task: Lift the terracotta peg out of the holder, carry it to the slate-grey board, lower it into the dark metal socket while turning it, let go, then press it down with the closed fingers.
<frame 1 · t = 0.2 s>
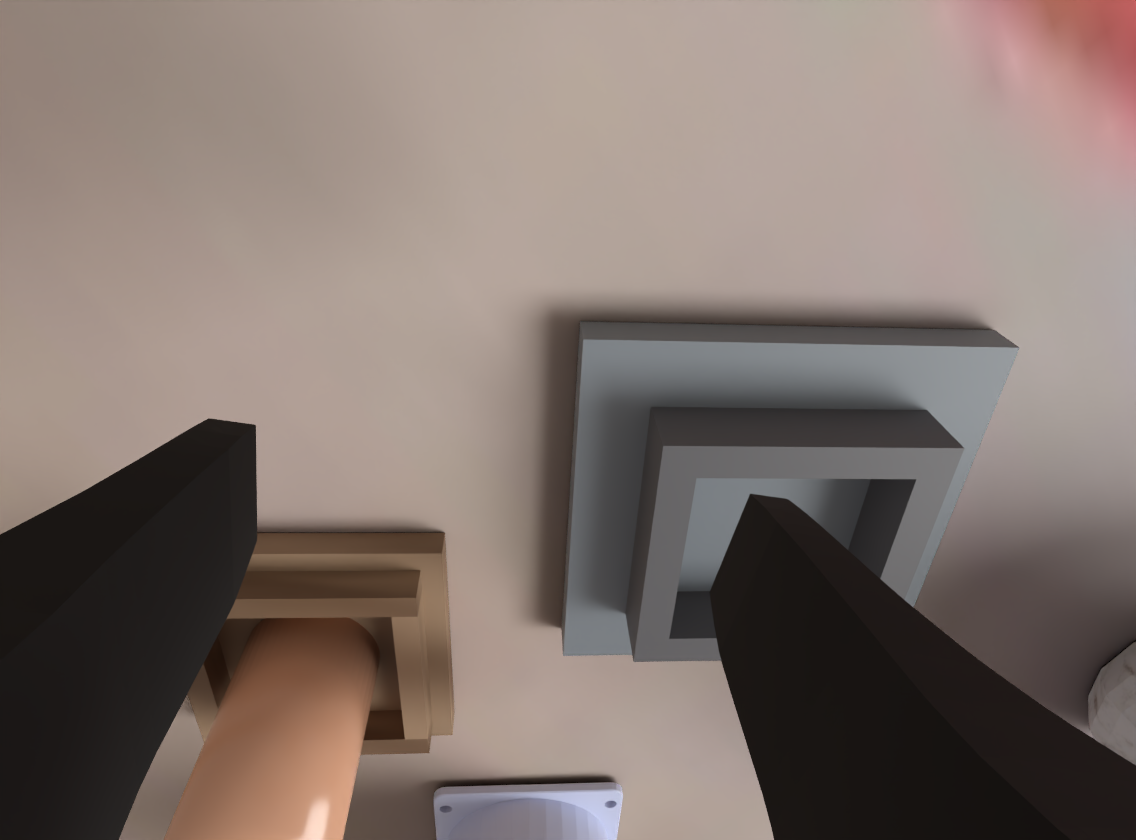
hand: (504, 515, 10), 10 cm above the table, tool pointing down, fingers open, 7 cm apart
holder: (321, 632, 25), on the table
socket board: (753, 496, 23), on the table
peg: (314, 654, 24), point 1 cm above the table, touching holder
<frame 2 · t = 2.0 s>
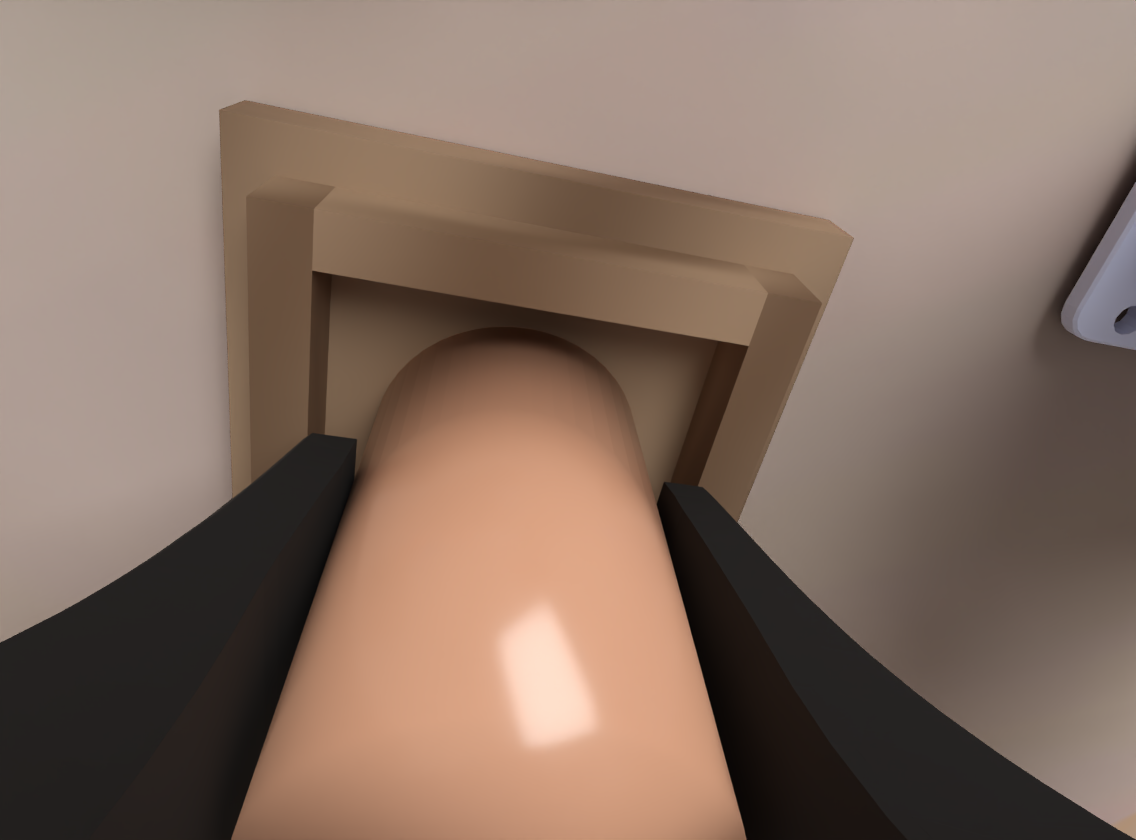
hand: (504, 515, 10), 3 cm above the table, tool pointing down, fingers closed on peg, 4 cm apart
holder: (507, 416, 13), on the table
peg: (506, 446, 12), point 1 cm above the table, touching gripper, holder
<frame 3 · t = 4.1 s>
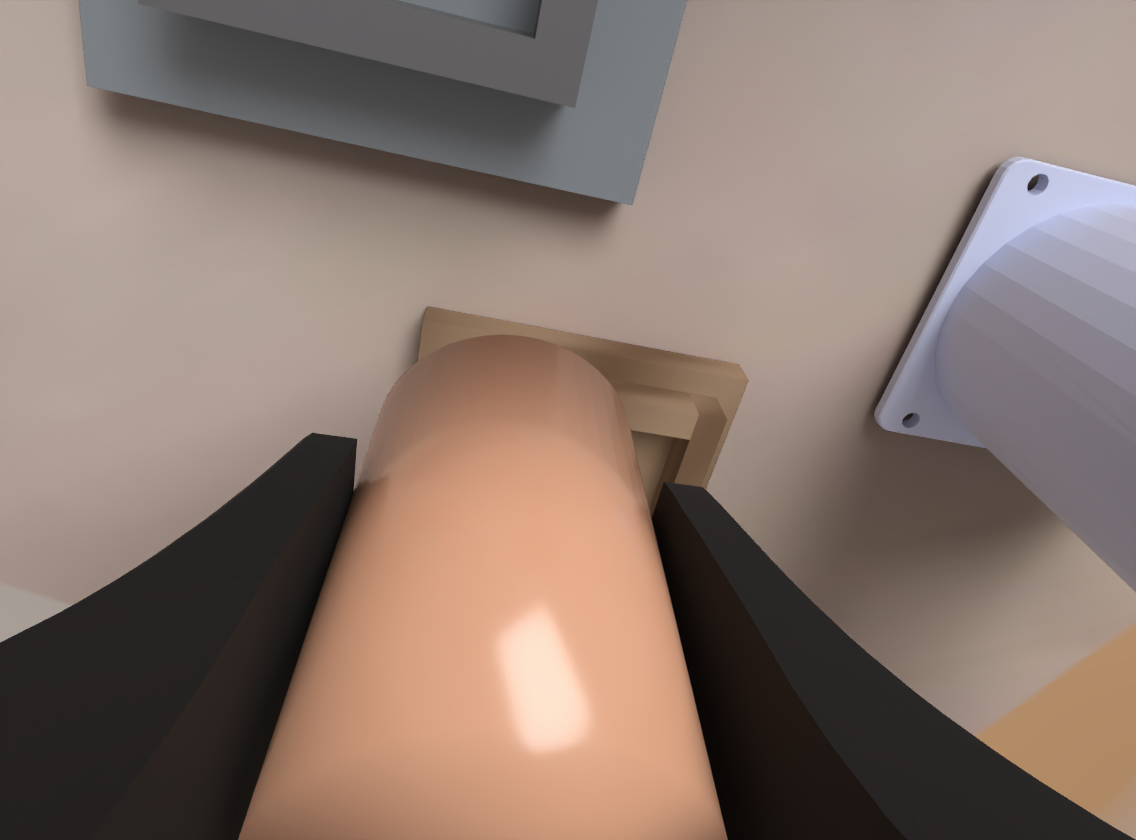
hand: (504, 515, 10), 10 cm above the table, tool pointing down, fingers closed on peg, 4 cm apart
holder: (554, 467, 22), on the table
peg: (505, 450, 12), point 8 cm above the table, touching gripper
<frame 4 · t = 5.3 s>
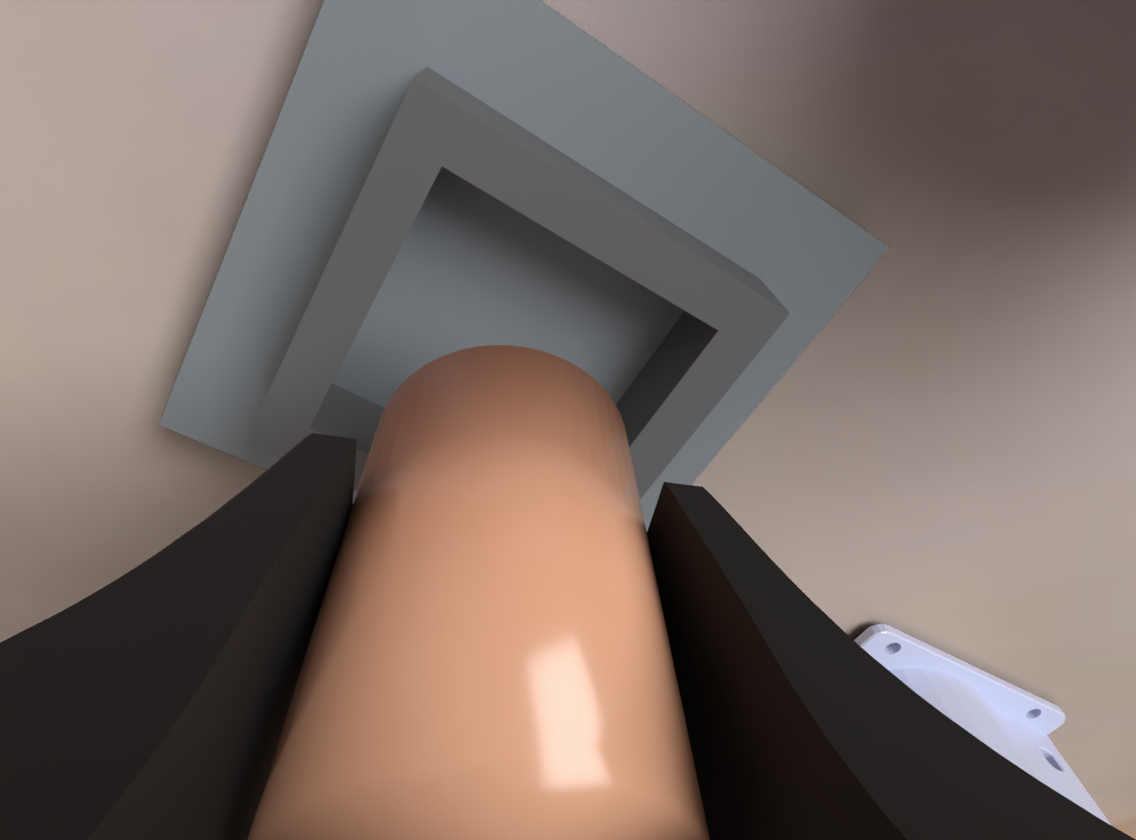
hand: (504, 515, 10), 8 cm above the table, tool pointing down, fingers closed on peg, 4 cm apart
socket board: (511, 318, 17), on the table
peg: (503, 456, 13), point 5 cm above the table, touching gripper
when the fingers open (5 cm above the table, at t = 6.4 s): peg drops 1 cm, resting on socket board.
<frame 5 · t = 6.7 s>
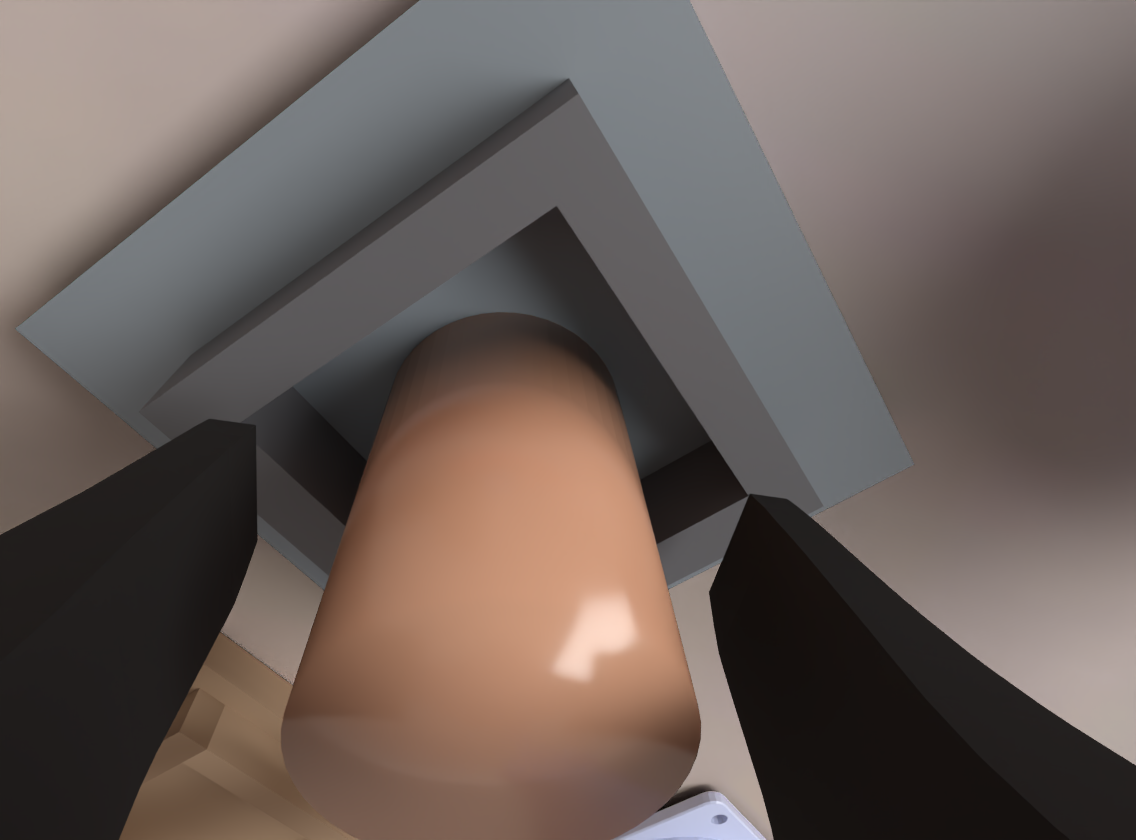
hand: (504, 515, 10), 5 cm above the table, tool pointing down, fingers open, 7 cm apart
holder: (222, 782, 21), on the table
socket board: (508, 374, 14), on the table
peg: (505, 420, 14), point 1 cm above the table, touching socket board
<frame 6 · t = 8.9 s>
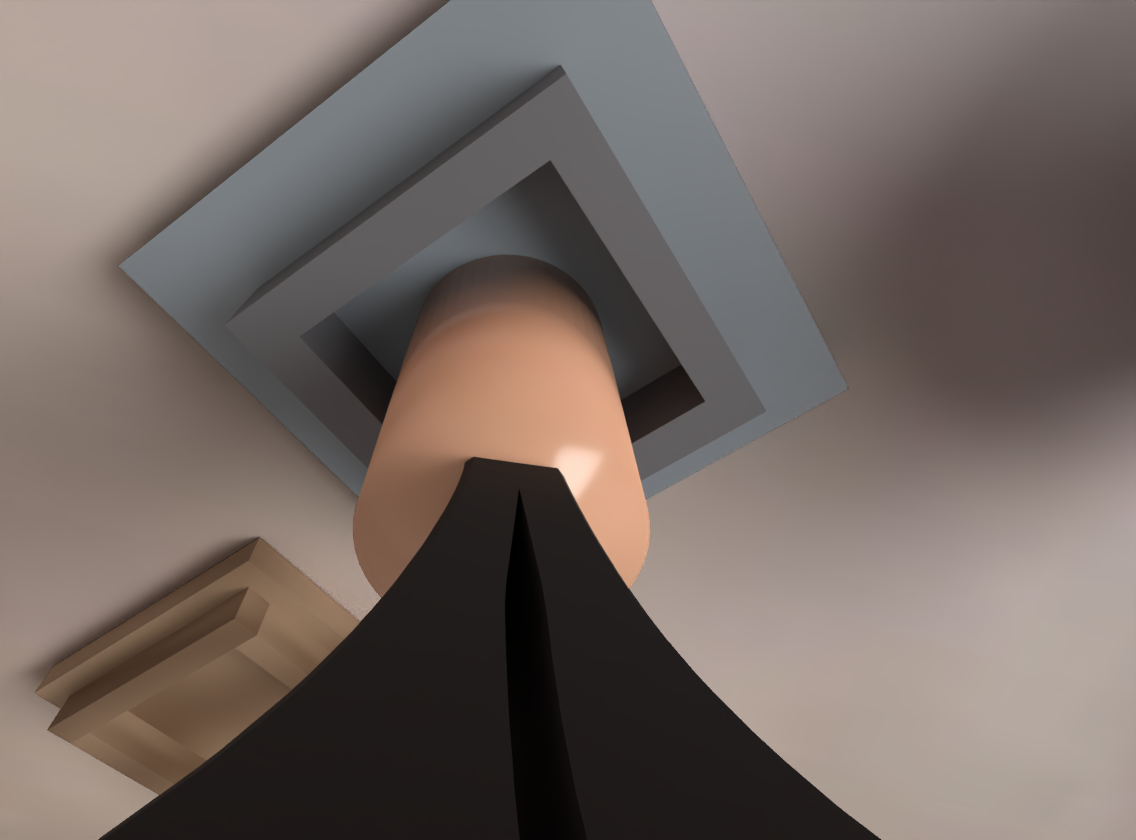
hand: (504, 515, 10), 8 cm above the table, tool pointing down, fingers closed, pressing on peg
holder: (261, 684, 24), on the table
socket board: (512, 312, 17), on the table
peg: (509, 346, 17), point 1 cm above the table, touching gripper, socket board
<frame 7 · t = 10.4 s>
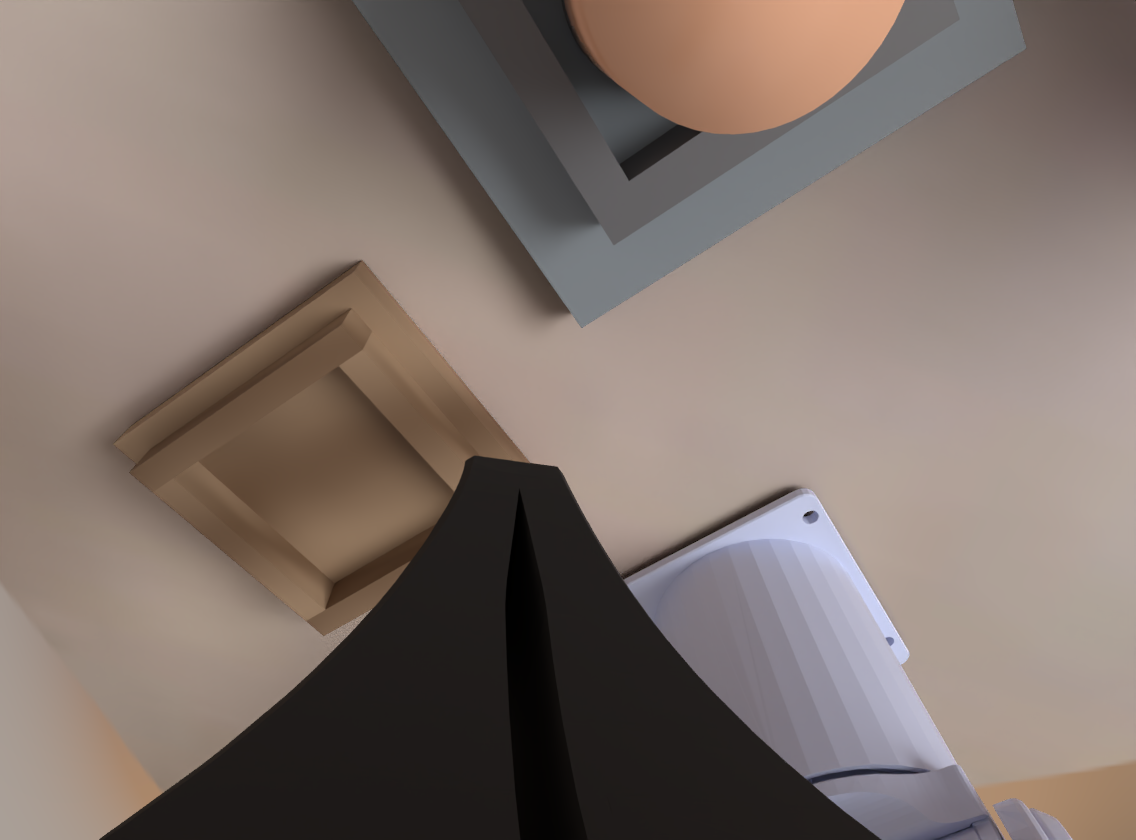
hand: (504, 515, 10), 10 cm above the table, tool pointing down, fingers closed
holder: (348, 458, 22), on the table
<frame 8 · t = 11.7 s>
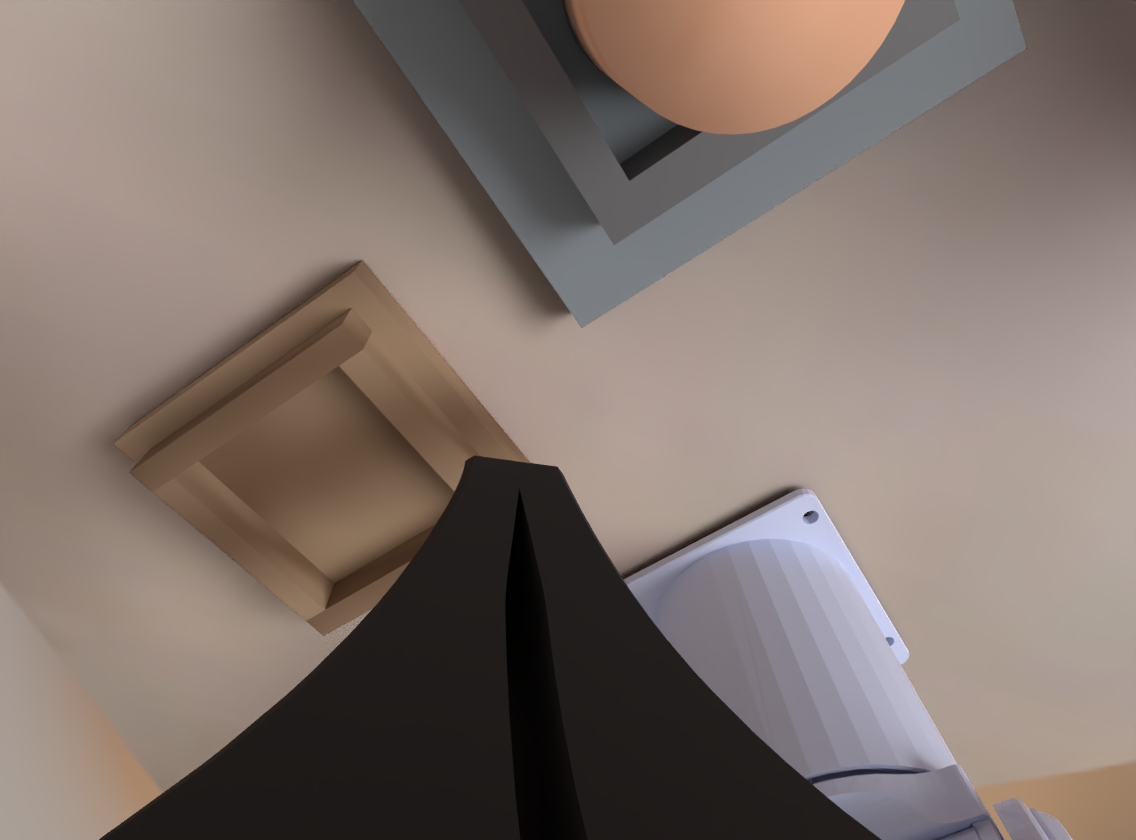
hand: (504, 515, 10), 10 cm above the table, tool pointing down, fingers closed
holder: (348, 458, 22), on the table
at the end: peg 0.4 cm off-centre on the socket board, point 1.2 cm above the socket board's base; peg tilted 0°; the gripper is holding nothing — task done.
